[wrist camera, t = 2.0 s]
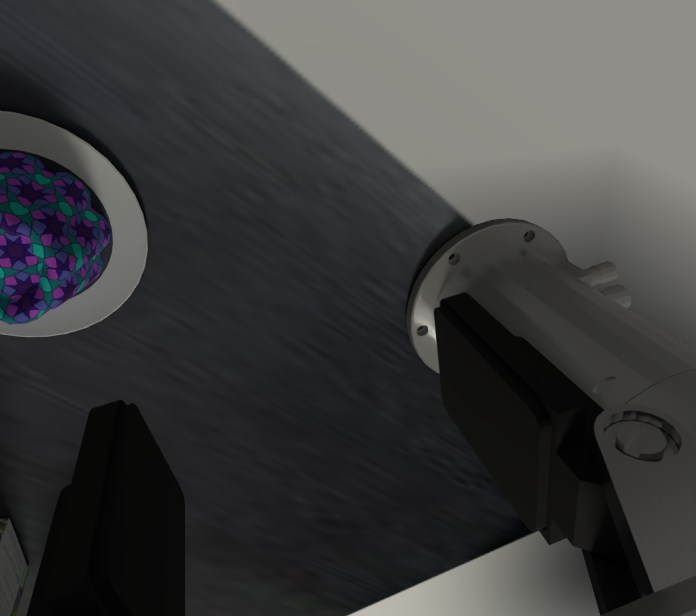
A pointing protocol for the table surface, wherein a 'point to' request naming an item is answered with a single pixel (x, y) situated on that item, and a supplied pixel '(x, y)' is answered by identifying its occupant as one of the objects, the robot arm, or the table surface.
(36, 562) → the table surface
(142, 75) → the table surface
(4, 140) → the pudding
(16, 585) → the syrup box
